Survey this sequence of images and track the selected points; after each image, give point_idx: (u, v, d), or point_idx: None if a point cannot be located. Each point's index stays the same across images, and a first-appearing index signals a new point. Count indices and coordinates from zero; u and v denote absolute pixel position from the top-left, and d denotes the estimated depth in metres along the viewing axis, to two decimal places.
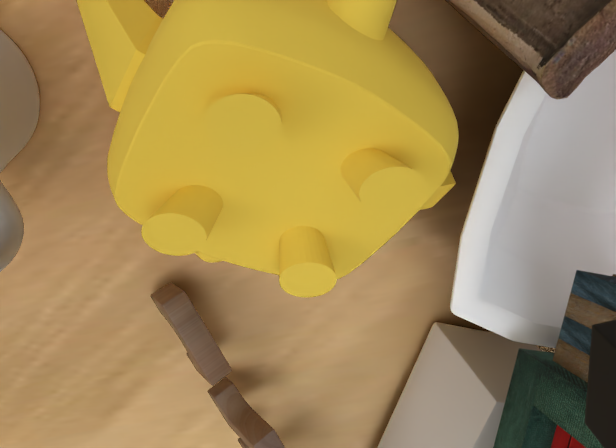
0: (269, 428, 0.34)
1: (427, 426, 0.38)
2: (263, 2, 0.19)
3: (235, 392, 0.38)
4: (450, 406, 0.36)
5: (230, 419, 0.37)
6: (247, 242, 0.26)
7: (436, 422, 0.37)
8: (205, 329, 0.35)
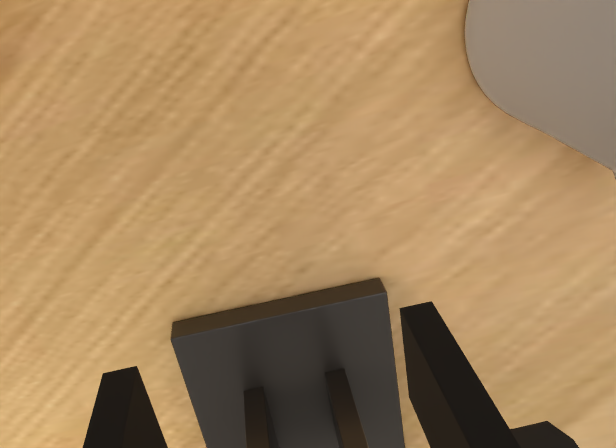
0: None
1: None
2: None
3: None
4: None
5: None
6: None
7: None
8: None
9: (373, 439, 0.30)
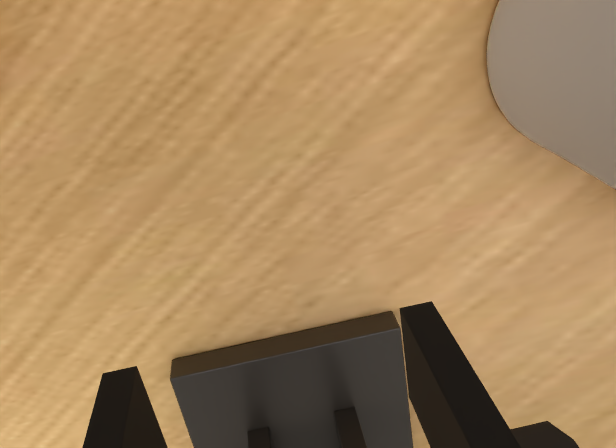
0: None
1: None
2: None
3: None
4: None
5: None
6: None
7: None
8: None
9: None
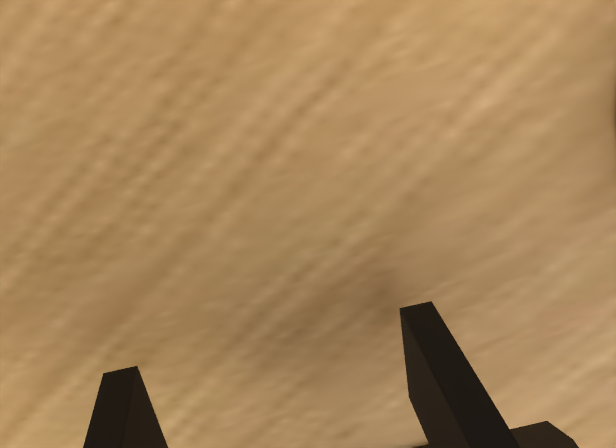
0: None
1: None
2: None
3: None
4: None
5: None
6: None
7: None
8: None
9: None
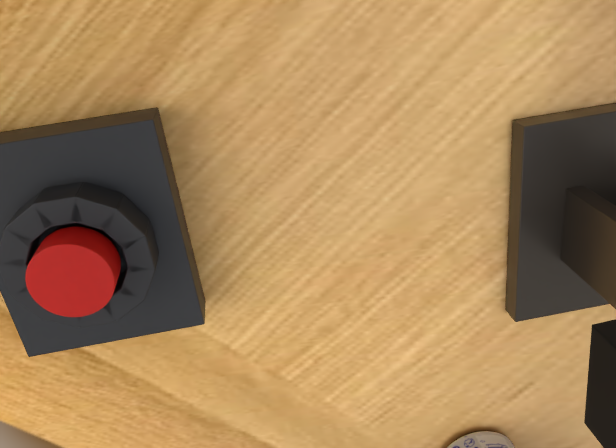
0: None
1: None
2: None
3: None
4: None
5: None
6: None
7: None
8: None
9: None
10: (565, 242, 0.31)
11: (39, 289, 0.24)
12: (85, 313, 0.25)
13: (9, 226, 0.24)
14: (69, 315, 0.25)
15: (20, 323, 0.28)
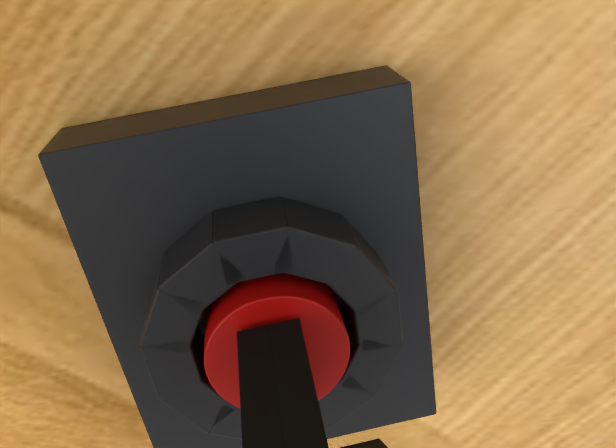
0: None
1: None
2: None
3: None
4: None
5: None
6: None
7: None
8: None
9: None
10: None
11: (226, 373, 0.14)
12: None
13: (167, 284, 0.13)
14: None
15: (155, 427, 0.17)
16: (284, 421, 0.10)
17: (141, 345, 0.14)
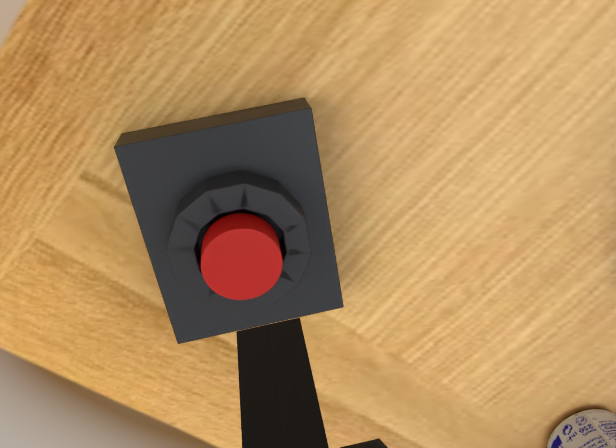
0: None
1: None
2: None
3: None
4: None
5: None
6: None
7: None
8: None
9: None
10: None
11: (213, 273, 0.25)
12: (252, 296, 0.26)
13: (182, 214, 0.25)
14: (238, 298, 0.26)
15: (173, 310, 0.29)
16: (284, 421, 0.10)
17: (167, 248, 0.26)
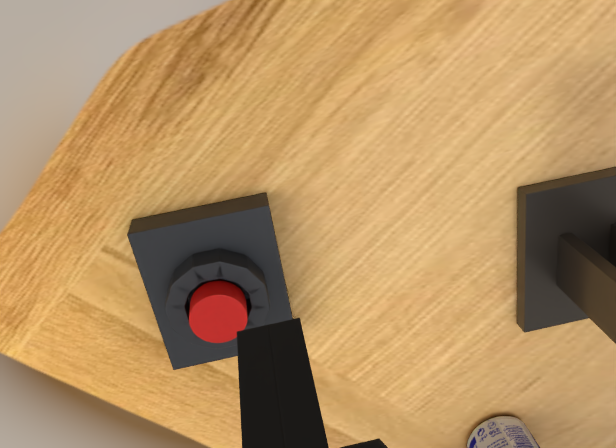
0: None
1: None
2: None
3: None
4: None
5: None
6: None
7: None
8: None
9: None
10: (559, 273, 0.42)
11: (197, 325, 0.35)
12: (226, 340, 0.36)
13: (175, 283, 0.35)
14: (215, 341, 0.36)
15: (169, 346, 0.40)
16: (284, 421, 0.10)
17: (165, 306, 0.36)
